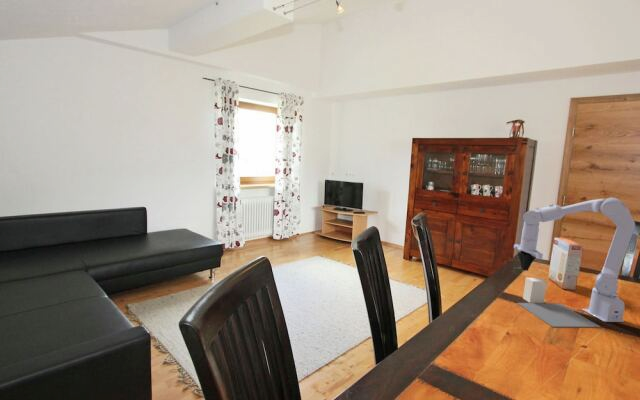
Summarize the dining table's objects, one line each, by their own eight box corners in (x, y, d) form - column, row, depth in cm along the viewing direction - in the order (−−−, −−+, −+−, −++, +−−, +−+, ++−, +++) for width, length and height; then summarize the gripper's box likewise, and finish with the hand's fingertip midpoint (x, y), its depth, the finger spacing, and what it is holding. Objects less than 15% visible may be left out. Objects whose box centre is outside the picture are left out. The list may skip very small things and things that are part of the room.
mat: (600, 327, 117) (600, 326, 117) (552, 327, 115) (552, 326, 115) (559, 304, 134) (559, 303, 134) (517, 303, 133) (517, 302, 133)
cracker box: (576, 291, 150) (584, 245, 147) (561, 289, 151) (568, 244, 148) (561, 279, 163) (567, 237, 160) (547, 278, 164) (553, 236, 161)
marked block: (543, 302, 135) (547, 281, 133) (529, 302, 134) (532, 281, 133) (536, 298, 139) (539, 277, 137) (522, 298, 138) (525, 277, 137)
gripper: (509, 234, 147) (504, 264, 149) (532, 243, 132) (527, 276, 134) (524, 234, 147) (519, 264, 149) (549, 243, 133) (544, 276, 135)
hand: (524, 269), depth 142 cm, fingers closed
